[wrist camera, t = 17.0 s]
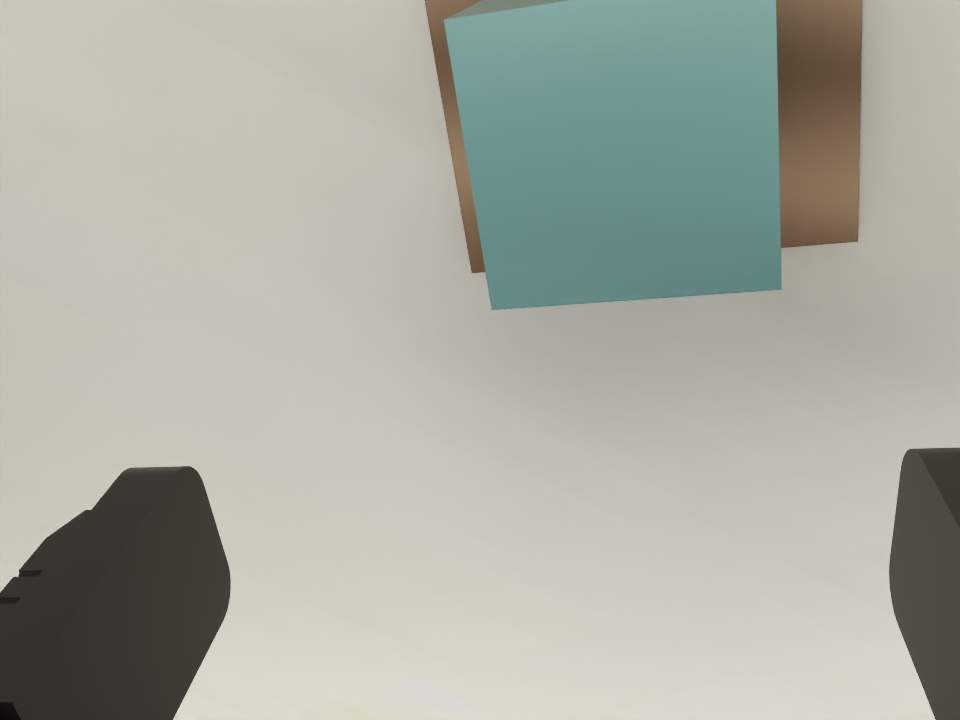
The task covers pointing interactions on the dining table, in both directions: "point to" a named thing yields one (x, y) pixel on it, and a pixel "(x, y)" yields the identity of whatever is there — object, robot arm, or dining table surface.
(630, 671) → the dining table surface
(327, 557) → the dining table surface
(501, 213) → the tall teal pillar
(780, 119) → the brown base plate
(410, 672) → the dining table surface
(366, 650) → the dining table surface
